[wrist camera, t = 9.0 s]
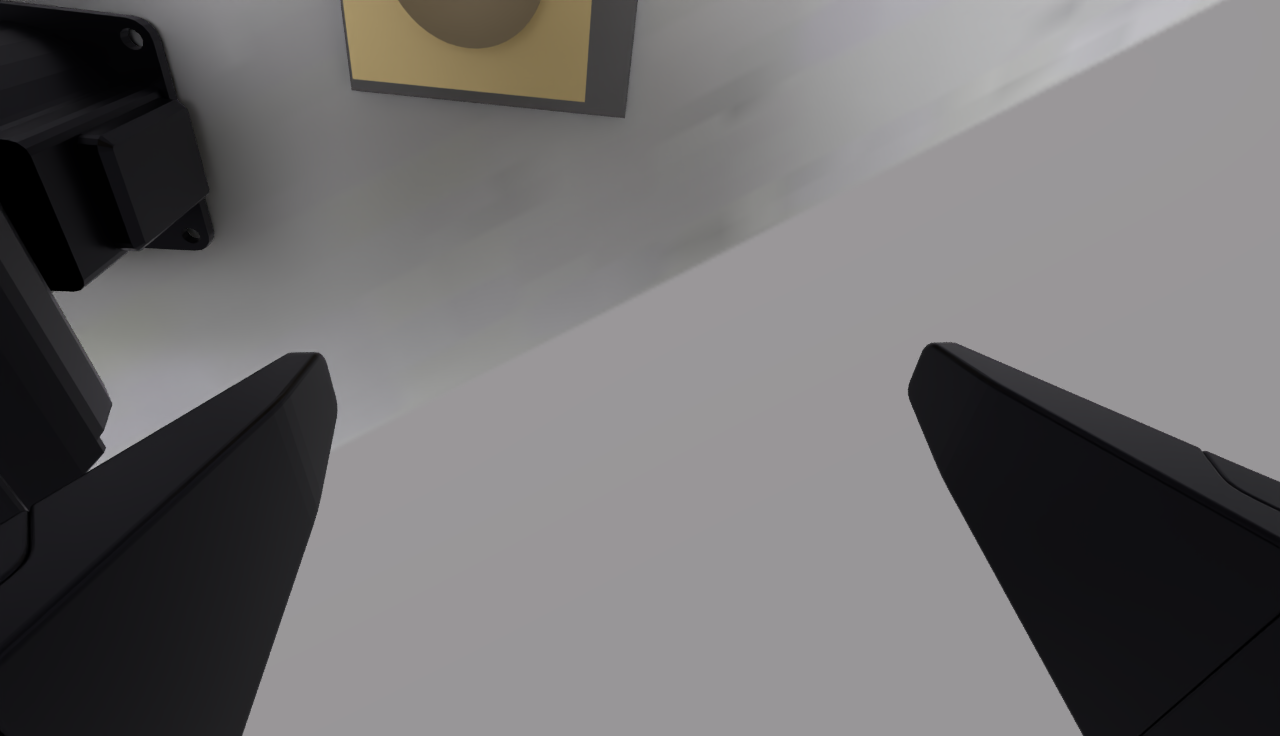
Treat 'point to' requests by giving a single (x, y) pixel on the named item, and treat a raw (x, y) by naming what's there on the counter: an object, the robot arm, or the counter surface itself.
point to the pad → (602, 98)
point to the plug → (473, 44)
